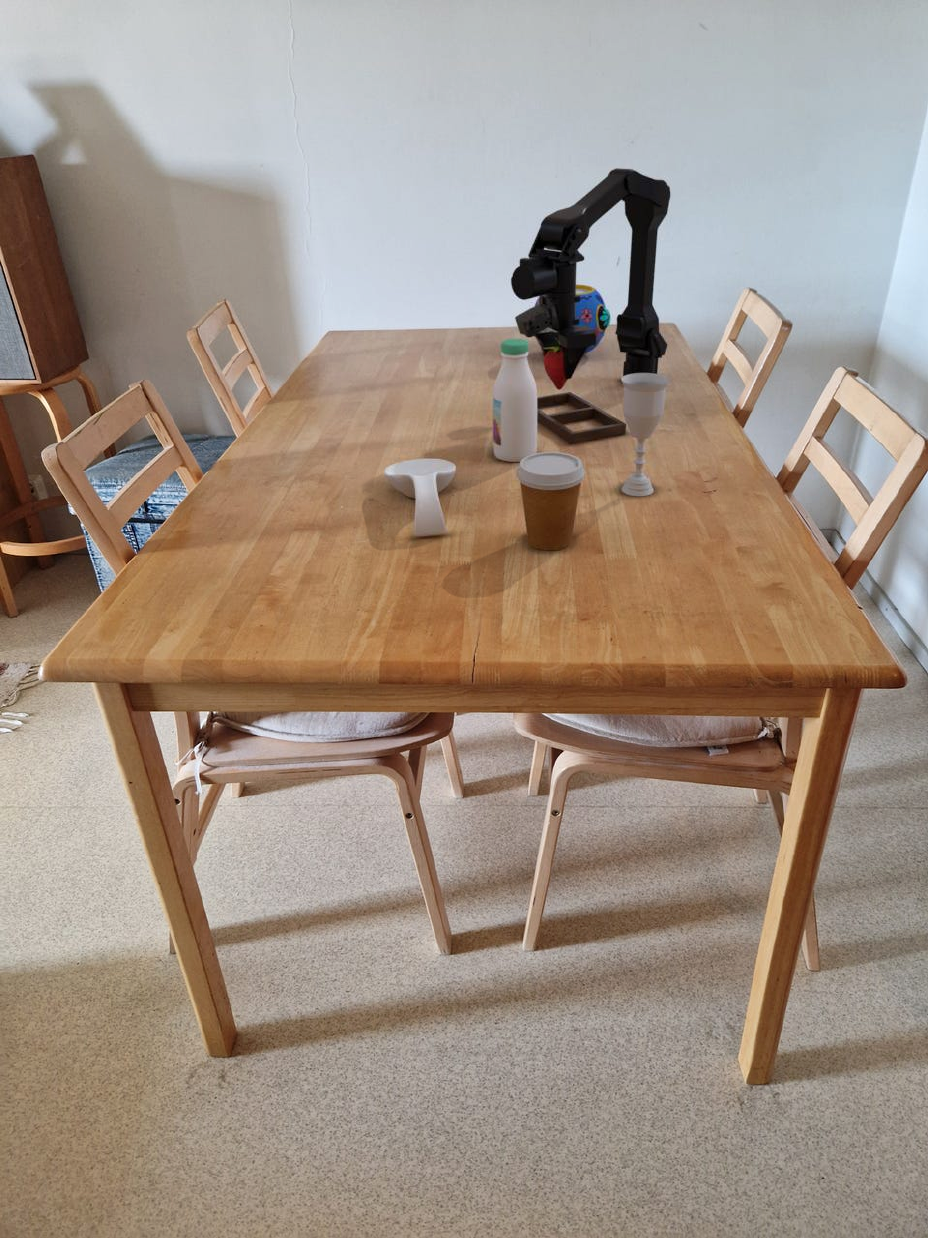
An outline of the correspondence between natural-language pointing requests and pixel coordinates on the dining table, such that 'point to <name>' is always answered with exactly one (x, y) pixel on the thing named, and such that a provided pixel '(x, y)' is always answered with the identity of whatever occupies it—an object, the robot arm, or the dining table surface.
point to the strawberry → (555, 366)
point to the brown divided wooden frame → (577, 419)
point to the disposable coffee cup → (550, 497)
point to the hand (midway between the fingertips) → (558, 373)
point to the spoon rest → (423, 490)
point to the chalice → (642, 421)
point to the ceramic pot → (590, 312)
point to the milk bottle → (514, 404)
